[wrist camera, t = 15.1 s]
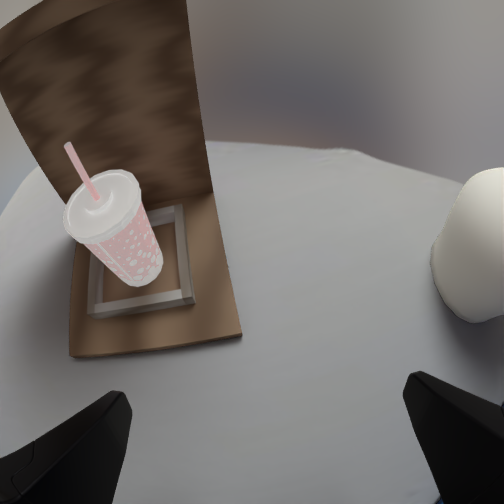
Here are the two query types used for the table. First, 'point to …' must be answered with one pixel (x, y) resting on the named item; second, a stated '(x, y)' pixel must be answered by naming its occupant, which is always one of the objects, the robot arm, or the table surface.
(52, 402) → the table surface
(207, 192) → the wooden headphone stand
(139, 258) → the beverage cup
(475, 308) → the vase
